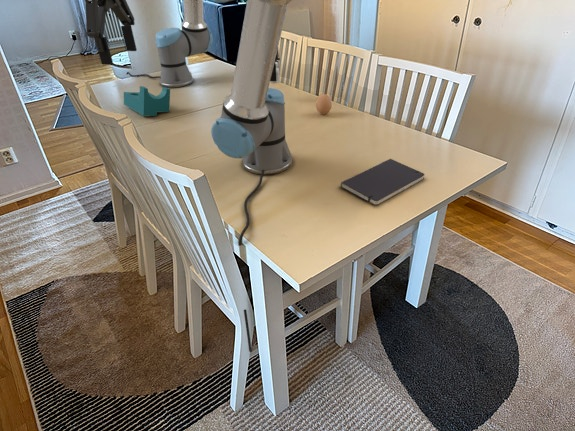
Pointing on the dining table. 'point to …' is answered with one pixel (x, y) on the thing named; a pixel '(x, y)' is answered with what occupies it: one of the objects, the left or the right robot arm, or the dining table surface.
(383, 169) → the notebook
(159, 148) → the dining table surface
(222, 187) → the dining table surface
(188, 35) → the left robot arm
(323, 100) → the egg
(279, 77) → the pill bottle
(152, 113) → the teal cradle holder
